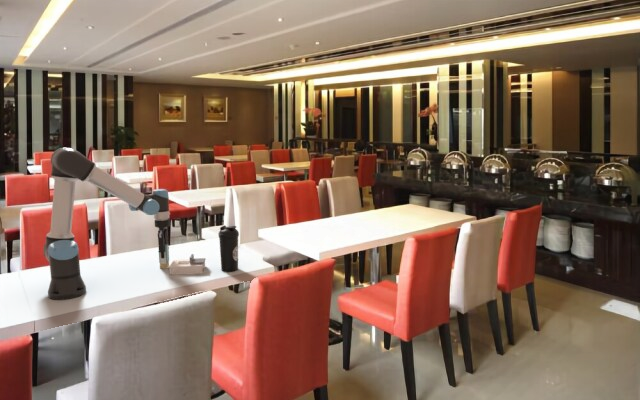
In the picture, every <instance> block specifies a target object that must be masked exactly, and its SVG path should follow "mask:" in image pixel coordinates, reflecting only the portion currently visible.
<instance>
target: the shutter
mask: <svg viewBox="0 0 640 400" xmlns="http://www.w3.org/2000/svg"><path fill="white" fill-rule="evenodd" d="M189 259H190V264H204V262H205V263H206V257H203V258H199V257H198V258H197V257H196V258H195V254H193V253H192V254H190V256H189Z"/></svg>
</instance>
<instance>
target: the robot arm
mask: <svg viewBox="0 0 640 400" xmlns="http://www.w3.org/2000/svg"><path fill="white" fill-rule="evenodd" d="M50 156H51V157H50V164H51V170H50V171H51V172H50V173H51V174H50V176H51V178H52V179H53V180H54V183H53V196H52V207H51V218H50V219H51V220H50V230H49V232H48V233H47V234H46V235H45V244H44V245H43V248H42V249H43V255H44V257H45V259H46V260H47V261H48V263H49V270H50V271H49V272H50V282H49V287H48V290H47V297H48V298H49V299H51V300H70V299H73V298H79V297H80V296H82V295H84V294H86V292H87V286H86V284H85V282H84V280H83V277H82V276H81V267H80V265H81V264H80V254H79V251H80V248H79V246H78V242H76V241H75V235H74V233H73V232H72V226H73V215H74V206H75V205H74V203H75V192H76V191H75V190H76V182H77V181H78V180H80V181H81V182H88V183H90V184H92V185H94V186H95V187H97V188H99V189H100V190H102V191H105V192H106V193H107V194H110V195H112V196H114V197H115V198H117V199H119V200H120V201H122V202H124V203H126V204H128V207H129V210H130V211H132V212H138V211H140V212H142V213H144V214H146V215H148V216H153V219H154V227H155V228H158V230H157V232H158V233H157V238H158V239H157V240H158V241H157V242H158V253H159V252H160V261H161V264H166V251H165V244H168V245H169V234H168V230H169V229H168V228H169V227H170V226H171V220H170V215H171V212H170V202H169V201H170V200H169V199H170V198H169V197H170V196H169V191H168V190H167V189H166V188H157V189H153V190H152V193H151V194H144V193H143V192H141V191H140V190H137V189H136V188H134V187H132V186H130V185H129V184H127V183H125V182H124V181H122V180H120V179H119V178H117V177H115V176H114V175H112V174H110V173H108V172H106V171H105V170H103V169H101V168H100V167H98V166H97V165H96V163H95V162H94V161H92V160H91V159H89V158H87V156H85V155H84V154H82V152H80V151H78V150H76V149H74V148H71V147H60V148H58V149H56V150H55V151H54V152H52V154H51V155H50Z"/></svg>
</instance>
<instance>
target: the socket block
mask: <svg viewBox="0 0 640 400" xmlns="http://www.w3.org/2000/svg"><path fill="white" fill-rule="evenodd" d="M205 268H206V261H205V262H204V264H190V258H189V259H188V258H187V259H173V260H172V262H171V263H170V264H169V267H168V269H169V275H195V274H203V272H204V271H205Z"/></svg>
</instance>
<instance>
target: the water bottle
mask: <svg viewBox="0 0 640 400" xmlns="http://www.w3.org/2000/svg"><path fill="white" fill-rule="evenodd" d="M236 228H237V225H231V226H227V225H222V226H221V227H219V231H218V238H219V251H220V265H221V267H220V268H221V269H220V270H221V271H222V272H223V273H233V272H236V271H238V270H239V235H240V234H239V233H240V232H239V231H238V229H236Z"/></svg>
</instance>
